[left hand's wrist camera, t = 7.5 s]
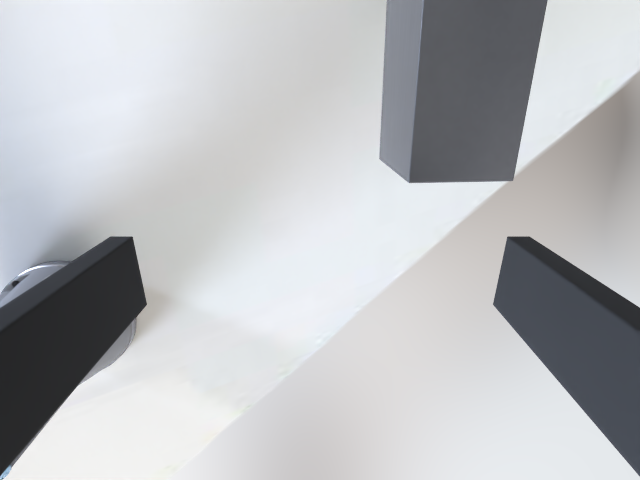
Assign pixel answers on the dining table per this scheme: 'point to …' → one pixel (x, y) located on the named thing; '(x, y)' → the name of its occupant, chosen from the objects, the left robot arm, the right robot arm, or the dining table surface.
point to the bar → (457, 87)
